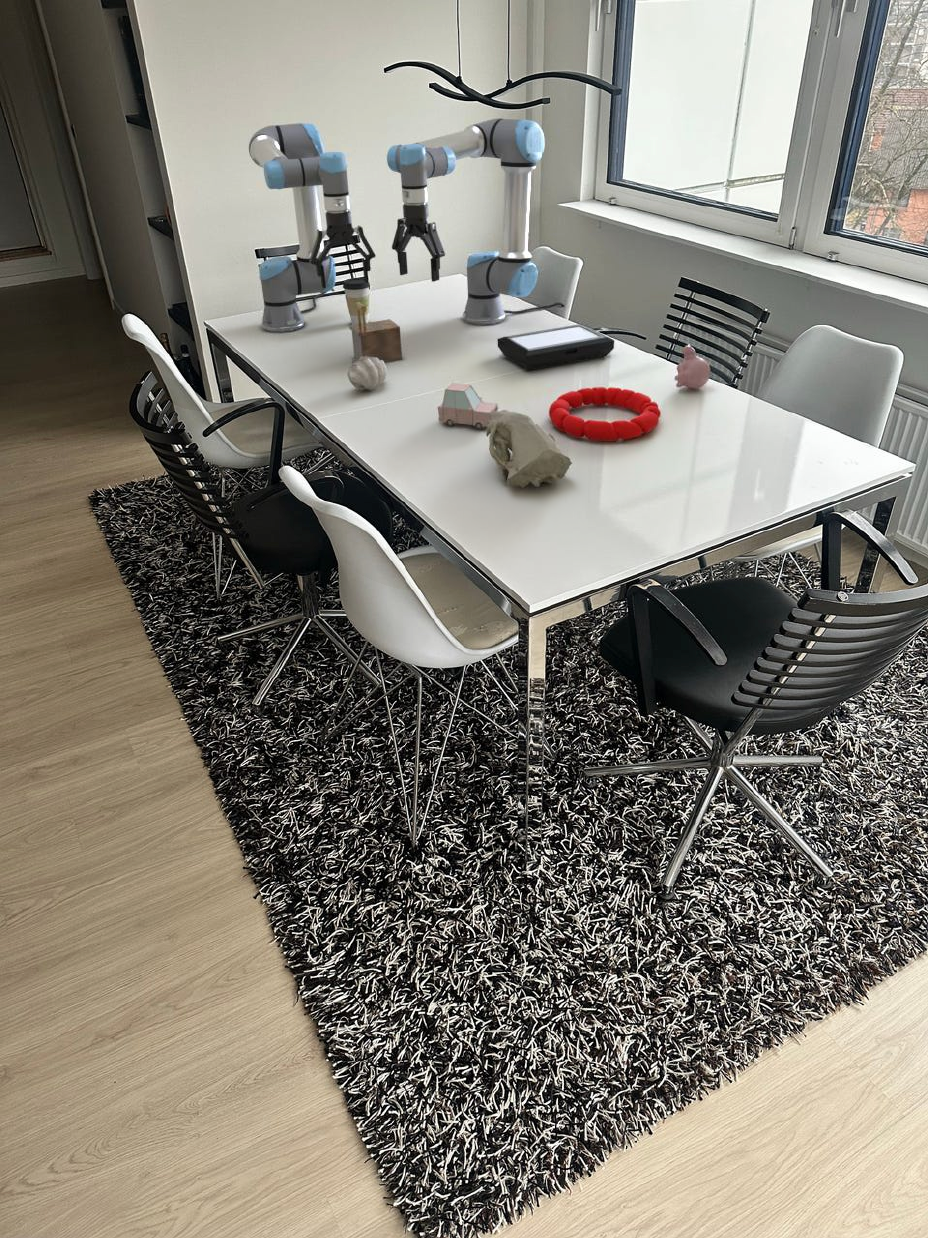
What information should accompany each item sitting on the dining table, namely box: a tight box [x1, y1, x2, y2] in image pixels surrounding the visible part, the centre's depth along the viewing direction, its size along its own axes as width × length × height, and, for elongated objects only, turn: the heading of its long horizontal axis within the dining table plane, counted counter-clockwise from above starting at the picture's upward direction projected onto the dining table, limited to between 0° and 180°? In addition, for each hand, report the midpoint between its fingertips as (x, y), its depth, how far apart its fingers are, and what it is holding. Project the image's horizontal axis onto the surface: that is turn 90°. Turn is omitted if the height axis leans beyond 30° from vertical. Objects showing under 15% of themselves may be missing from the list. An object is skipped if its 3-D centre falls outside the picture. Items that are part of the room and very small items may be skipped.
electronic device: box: [497, 323, 615, 371], centre depth 288 cm, size 32×6×20 cm
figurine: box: [674, 344, 711, 390], centre depth 259 cm, size 9×11×12 cm
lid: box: [348, 302, 401, 337], centre depth 286 cm, size 14×10×9 cm
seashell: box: [347, 356, 388, 391], centre depth 267 cm, size 10×15×10 cm
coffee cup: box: [342, 277, 371, 325], centre depth 323 cm, size 10×10×15 cm
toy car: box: [437, 382, 499, 431], centre depth 243 cm, size 9×15×10 cm, turn 70°
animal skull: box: [485, 409, 573, 489], centre depth 216 cm, size 17×25×20 cm
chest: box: [351, 329, 403, 363], centre depth 291 cm, size 13×10×10 cm
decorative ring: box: [548, 386, 661, 442], centre depth 242 cm, size 7×30×30 cm
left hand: (345, 284), depth 277 cm, fingers open, 13 cm apart
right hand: (419, 277), depth 277 cm, fingers open, 13 cm apart
